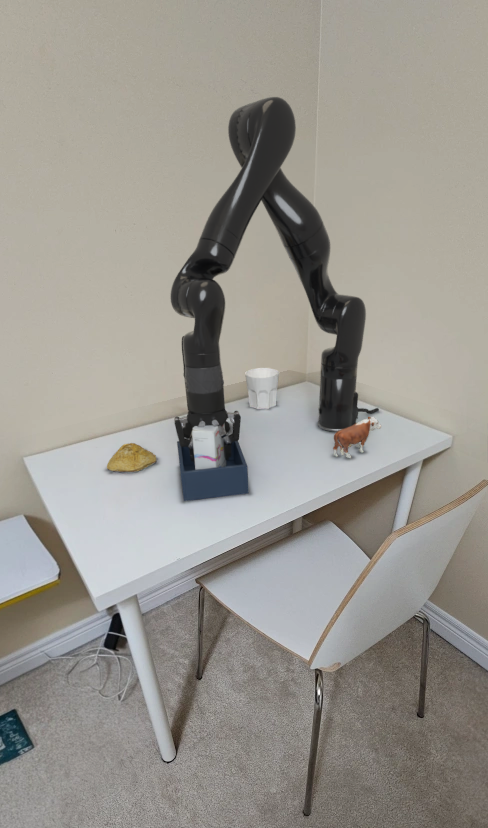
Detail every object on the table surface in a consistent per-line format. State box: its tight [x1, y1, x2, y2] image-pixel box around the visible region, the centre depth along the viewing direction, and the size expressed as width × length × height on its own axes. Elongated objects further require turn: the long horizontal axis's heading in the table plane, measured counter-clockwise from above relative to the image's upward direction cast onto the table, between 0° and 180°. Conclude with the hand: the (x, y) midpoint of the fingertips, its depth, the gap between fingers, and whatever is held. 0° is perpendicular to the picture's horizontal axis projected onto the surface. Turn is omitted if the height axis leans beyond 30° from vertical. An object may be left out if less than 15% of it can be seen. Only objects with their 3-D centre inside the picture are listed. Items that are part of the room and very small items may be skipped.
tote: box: [176, 440, 250, 502], centre depth 104 cm, size 14×16×7 cm
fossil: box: [106, 442, 158, 473], centre depth 113 cm, size 11×6×10 cm
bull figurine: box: [332, 415, 382, 459], centre depth 113 cm, size 4×13×8 cm, turn 121°
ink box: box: [192, 423, 226, 470], centre depth 102 cm, size 9×5×12 cm, turn 169°
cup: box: [244, 367, 280, 410], centre depth 143 cm, size 10×10×10 cm
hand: (211, 460), depth 103 cm, fingers closed on ink box, 6 cm apart
